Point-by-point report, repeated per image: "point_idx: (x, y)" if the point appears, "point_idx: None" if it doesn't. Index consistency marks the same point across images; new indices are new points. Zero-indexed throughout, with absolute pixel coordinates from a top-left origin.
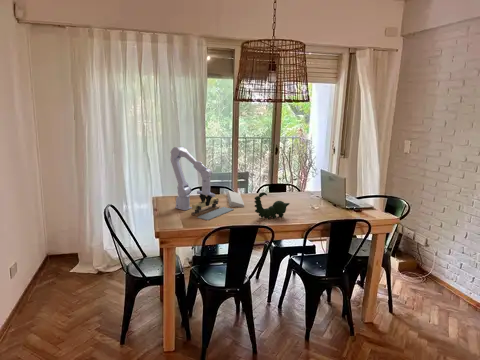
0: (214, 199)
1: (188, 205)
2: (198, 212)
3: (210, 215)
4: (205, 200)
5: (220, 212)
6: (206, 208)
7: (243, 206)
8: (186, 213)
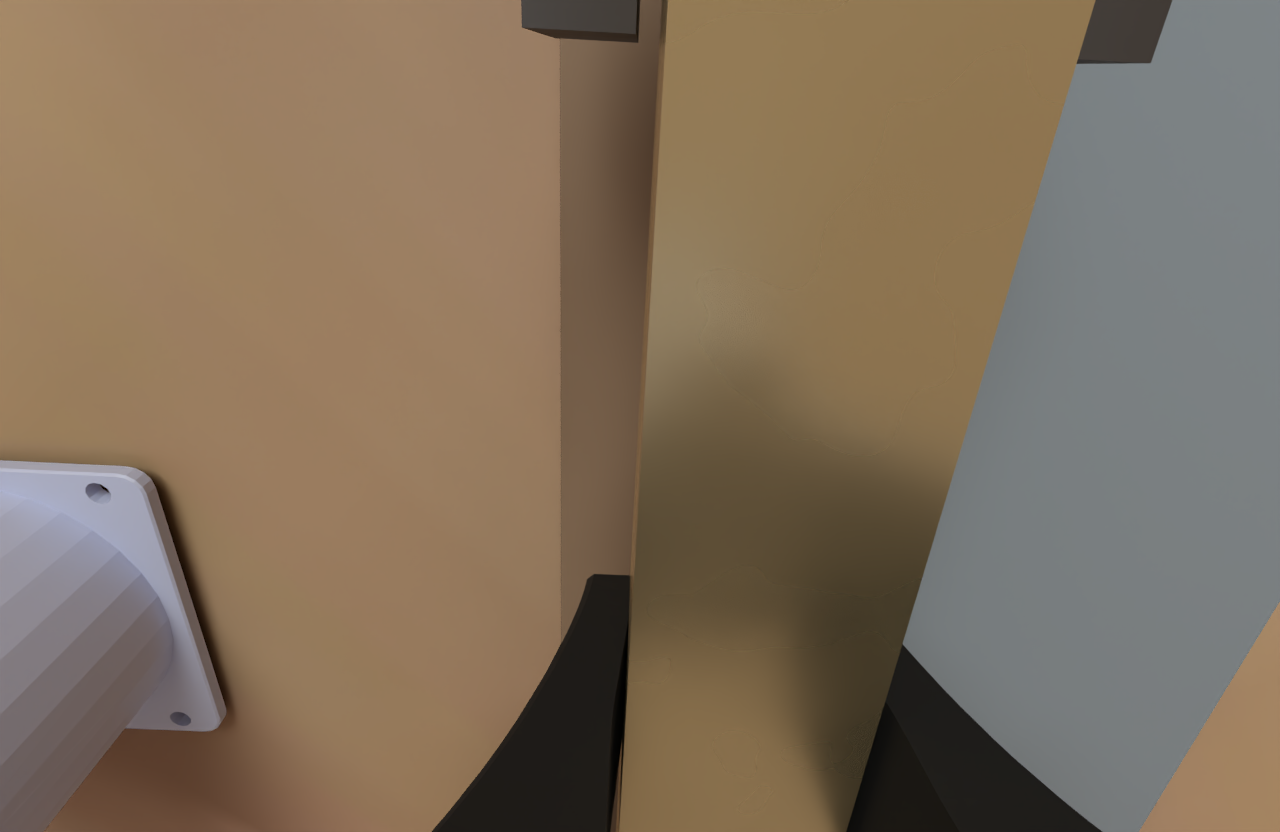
0: (1048, 124)
1: (101, 687)
2: None
3: (1039, 743)
4: (640, 720)
5: (1254, 422)
6: None
7: None
8: (430, 814)
